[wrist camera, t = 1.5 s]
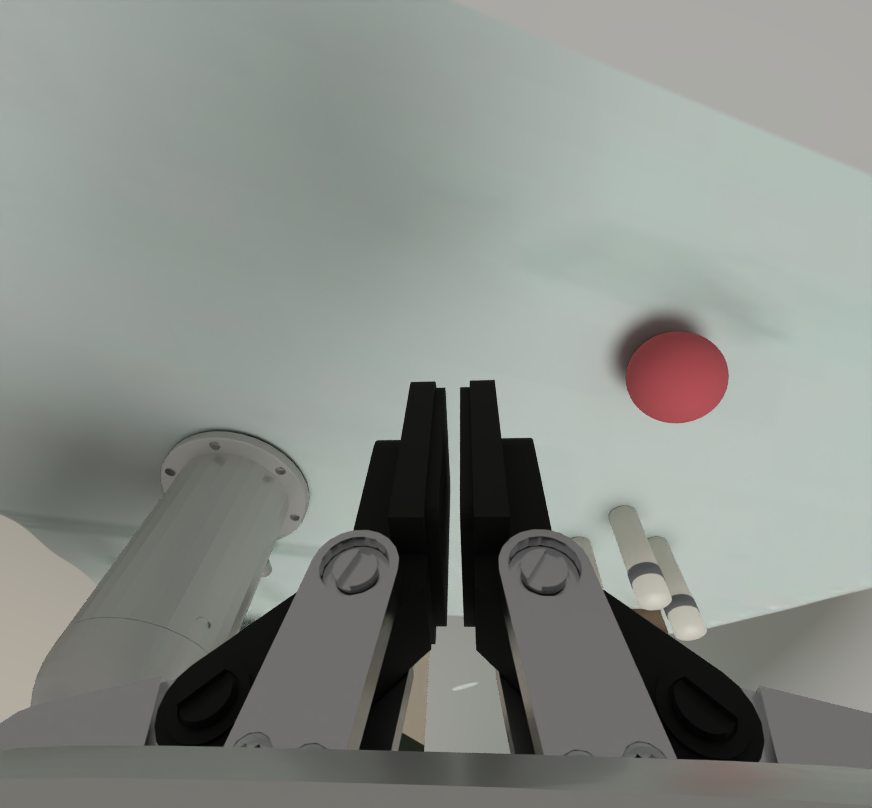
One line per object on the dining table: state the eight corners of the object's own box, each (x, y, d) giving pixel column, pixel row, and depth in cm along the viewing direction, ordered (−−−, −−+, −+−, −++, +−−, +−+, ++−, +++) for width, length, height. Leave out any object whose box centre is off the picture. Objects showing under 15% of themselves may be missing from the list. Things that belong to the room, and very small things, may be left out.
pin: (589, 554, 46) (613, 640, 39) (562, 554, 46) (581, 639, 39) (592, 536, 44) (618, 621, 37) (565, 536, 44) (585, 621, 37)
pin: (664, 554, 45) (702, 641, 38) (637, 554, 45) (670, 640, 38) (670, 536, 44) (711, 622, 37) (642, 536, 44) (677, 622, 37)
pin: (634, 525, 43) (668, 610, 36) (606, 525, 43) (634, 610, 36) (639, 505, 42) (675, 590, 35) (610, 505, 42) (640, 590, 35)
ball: (692, 390, 35) (730, 441, 30) (609, 392, 36) (633, 442, 31) (714, 314, 32) (761, 357, 27) (622, 317, 32) (652, 359, 27)
